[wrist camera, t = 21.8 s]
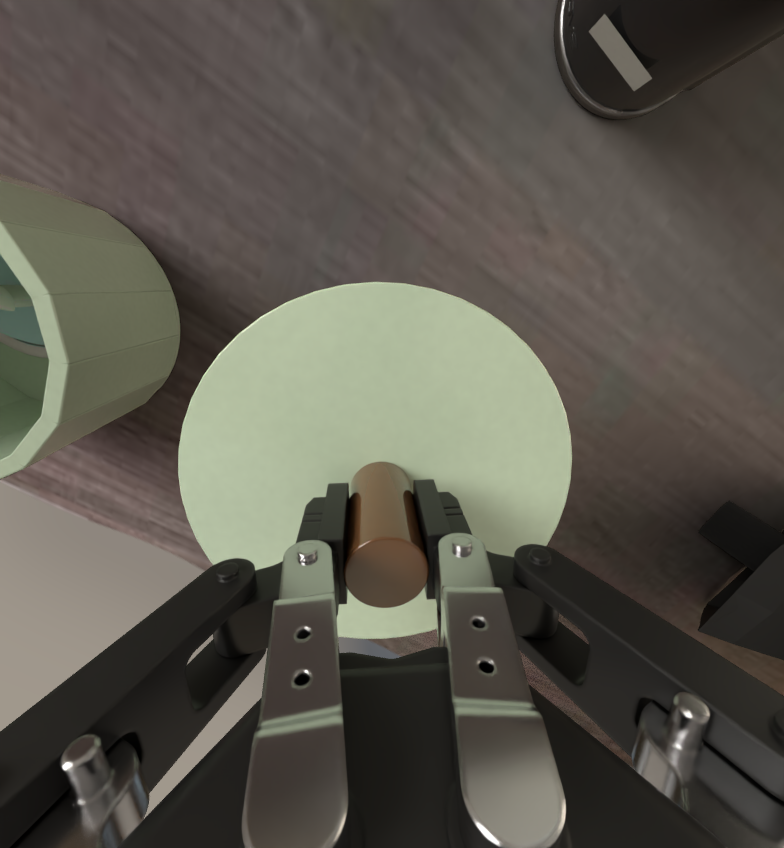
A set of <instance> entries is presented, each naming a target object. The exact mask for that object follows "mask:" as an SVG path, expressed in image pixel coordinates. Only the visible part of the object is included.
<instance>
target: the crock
mask: <svg viewBox="0 0 784 848" xmlns="http://www.w3.org/2000/svg"><path fill="white" fill-rule="evenodd" d="M0 254H1V256H2V257H3V259H4V260H5V261H6V263H7V264H8V266H9V267H10V269H11V270H12V271H13V273H14V274H15V276H16V277H17V278H18V280H19V281H20V283H21V284H22V286H23V287H24V288H25V290H26V291H27V293H28V294H29V296H30V297H31V298H32V302H33V305H34V309H35V312H36V316H37V319H38V323H39V326H40V330H41V334H42V337H43V341H44V344H45V348H46V351H47V355H48V358H41V357H36V356H32V355H28V354H25V353H22V352H20V351H17V350H15V349H13V348H11V347H9V346H7V345H6V344H4V343H2V342H0V479H2V478H5V477H7V476H9V475H11V474H14V473H16V472H18V471H20V470H23V469H25V468H27V467H28V466H30V465H32V464H34V463H36V462H38V461H40V460H41V459H43V458H45V457H47V456H49V455H51V454H53V453H54V452H56V451H58V450H60V449H62V448H64V447H65V446H67V445H69V444H71V443H73V442H75V441H77V440H78V439H80V438H82V437H84V436H86V435H88V434H90V433H91V432H93V431H95V430H97V429H99V428H101V427H103V426H104V425H106V424H108V423H110V422H112V421H114V420H115V419H117V418H119V417H121V416H123V415H125V414H127V413H128V412H130V411H132V410H134V409H136V408H138V407H140V406H141V405H143V404H145V403H146V402H147V401H148V400H149V399H150V398H151V397H152V396H153V395H154V394H155V393H156V392H157V391H158V390H159V389H160V388H161V387H162V385H163V384H164V383H165V381H166V380H167V378H168V377H169V375H170V373H171V371H172V369H173V367H174V364H175V361H176V358H177V355H178V350H179V344H180V319H179V312H178V307H177V303H176V299H175V296H174V293H173V291H172V288H171V285H170V283H169V281H168V279H167V277H166V275H165V273H164V271H163V269H162V268H161V266H160V265H159V263H158V262H157V260H156V259H155V257H154V256H153V254H152V253H151V252H150V251H149V250H148V248H147V247H146V246H145V245H144V244H143V242H142V241H141V240H140V239H139V238H138V237H136V236H135V235H134V234H133V233H132V232H131V231H130V230H129V229H128V228H127V227H125V226H124V225H123V224H121V223H120V222H119V221H118V220H116V219H115V218H113V217H112V216H110V215H109V214H108V213H107V212H105V211H103V210H101V209H99V208H96V207H94V206H92V205H89V204H87V203H85V202H82V201H79V200H76V199H74V198H72V197H69V196H67V195H64V194H62V193H59V192H57V191H54V190H51V189H47V188H44V187H41V186H38V185H35V184H31V183H28V182H25V181H22V180H18V179H15V178H12V177H9V176H6V175H2V174H0Z"/></svg>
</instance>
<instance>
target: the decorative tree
mask: <svg viewBox="0 0 784 848" xmlns="http://www.w3.org/2000/svg"><path fill="white" fill-rule="evenodd" d="M699 533H700V534H701V535H703V536H704V537H706V538H707V539H709V540H710V541H711V542H713V543H714V544H716V545H717V546H718V547H720V548H721V549H723V550H724V551H725V552H727V553H728V554H730V555H731V556H733V557H734V558H735V559H737V560H738V561H740V562H741V563H742V564H744V565H745V566H747V568H746V569H745V570H744V571H743V572H742V573H741V574H740V575H738V576H737V577H736V578H735V579H734V580H733V581H732V582H731V583H730V584H729V585H728V586H726V587H725V588H724V589H723V590H722V591H721V592H720V593H719V594H718V595H716V596H715V597H714V598H713V599H712V600H711V601H710V602H709V603H708V604H707V605H706V606H705V608H704V610H703V613H702V616H701V621H700V626H699V629H698V631H700V632H702V633H705V634H708V635H710V636H713V637H716V638H718V639H721V640H724V641H727V642H729V643H732V644H735V645H738V646H741V647H744V648H747V649H751V650H754V651H757V652H760V653H763V654H766V655H769V656H773V657H776V658H779V659H782V660H784V530H783V531H782V533H780V532H779V531H777V530H775V529H774V528H772V527H771V526H769V525H767V524H766V523H764V522H763V521H761V520H759V519H758V518H756V517H755V516H753V515H752V514H750V513H748V512H747V511H745V510H744V509H742V508H740V507H739V506H737V505H736V504H734V503H732V502H731V501H728V502H726V503H725V504H724V505H723V506H722V507H721V508H720V509H719V510H718V511H717V512H716V513H715V514H714V515H713V516H712V517H711V518H710V519H709V520H708V521H707V522H706V523H705V524H704V525H703V527H702V528H701V529H700V530H699Z"/></svg>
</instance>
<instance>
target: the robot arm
mask: <svg viewBox="0 0 784 848" xmlns="http://www.w3.org/2000/svg"><path fill="white" fill-rule="evenodd" d="M783 34H784V0H558V4H557V9H556V14H555V22H554V47H555V54H556V60H557V64H558V68H559V71H560V73H561V76H562V79H563V81H564V83H565V85H566V86H567V88H568V90H569V91H570V93H571V94H572V95H573V97H574V98H575V99H576V100H577V101H578V102H579V103H580V104H581V105H582V106H583V107H584V108H586V109H587V110H589V111H590V112H592V113H594V114H596V115H598V116H601V117H604V118H609V119H617V120H620V119H630V118H635V117H638V116H641V115H644V114H646V113H648V112H650V111H652V110H654V109H656V108H657V107H659V106H661V105H662V104H664V103H666V102H667V101H669V100H670V99H672V98H673V97H674V96H675V95H677V94H678V93H679V92H680V91H682V90H691V89H693V88H695V87H696V86H698V85H700V84H702V83H703V82H705V81H707V80H708V79H710V78H712V77H713V76H715V75H717V74H718V73H720V72H722V71H723V70H725V69H727V68H728V67H730V66H732V65H733V64H735V63H737V62H738V61H740V60H742V59H743V58H745V57H747V56H748V55H750V54H752V53H753V52H755V51H757V50H758V49H760V48H762V47H763V46H765V45H767V44H768V43H770V42H772V41H773V40H775V39H777V38H778V37H780V36H782V35H783ZM413 496H414V501H415V505H416V510H417V514H418V519H419V523H420V528H421V533H422V537H423V542H424V546H425V551H426V555H427V560H428V564H429V577H428V580H427V583H426V585H425V587H424V588H425V593H426V598H427V600H430V599H436V603H437V638H438V647H432V648H429V649H426V650H422V651H419V652H416V653H413V654H409V655H406V656H403V657H399V658H396V659H386V658H380V657H375V656H369V655H363V654H357V653H339V643H338V629H337V615H338V609H339V604H347V595H348V588H347V586H346V584H345V581H344V576H343V572H344V563H345V550H346V537H347V524H348V511H349V484H348V483H329V484H328V487H327V493H326V497H314V498H313V499H312V500H311V501H310V502H309V503H308V504H307V505H306V507H305V511H304V515H303V518H302V522H301V525H300V529H299V533H298V537H297V540H296V544H294V545H292V546H291V547H289V548H288V549H287V550H286V552H285V553H284V556H283V561H282V562H280V563H278V564H275V565H273V566H270V567H266V568H262V569H258V570H255V566H254V564H253V563H252V562H251V561H249V560H247V559H242V558H233V559H228V560H224V561H221V562H219V563H217V564H215V565H213V566H212V567H210V568H209V569H208V570H206V571H205V572H204V573H203V574H201V575H200V576H199V577H197V578H196V579H195V580H194V581H192V582H191V583H190V584H188V585H187V586H186V587H185V588H183V589H182V590H181V591H179V592H178V593H177V594H176V595H174V596H173V597H172V598H171V599H169V600H168V601H167V602H166V603H164V604H163V605H162V606H160V607H159V608H158V609H156V610H155V611H154V612H153V613H151V614H150V615H149V616H148V617H146V618H145V619H144V620H143V621H141V622H140V623H139V624H137V625H136V626H135V627H134V628H132V629H131V630H130V631H128V632H127V633H126V634H125V635H123V636H122V637H121V638H120V639H118V640H117V641H116V642H114V643H113V644H112V645H110V646H109V647H108V648H107V649H105V650H104V651H103V652H102V653H100V654H99V655H98V656H97V657H95V658H94V659H93V660H91V661H90V662H89V663H87V664H86V665H85V666H84V667H82V668H81V669H80V670H79V671H77V672H76V673H75V674H73V675H72V676H71V677H70V678H68V679H67V680H66V681H64V682H63V683H62V684H61V685H59V686H58V687H57V688H56V689H54V690H53V691H52V692H50V693H49V694H48V695H47V696H45V697H44V698H43V699H41V700H40V701H39V702H38V703H36V704H35V705H34V706H32V707H31V708H30V709H29V710H27V711H26V712H25V713H23V714H22V715H21V716H20V717H18V718H17V719H16V720H15V721H13V722H12V723H11V724H9V725H8V726H7V727H6V728H4V729H3V730H2V731H0V848H784V696H783V695H781V694H780V693H778V692H777V691H775V690H773V689H772V688H770V687H769V686H767V685H766V684H764V683H762V682H761V681H759V680H758V679H756V678H755V677H753V676H752V675H750V674H748V673H747V672H745V671H744V670H742V669H741V668H739V667H737V666H736V665H734V664H733V663H731V662H730V661H728V660H726V659H725V658H723V657H722V656H720V655H719V654H717V653H715V652H714V651H712V650H711V649H709V648H708V647H706V646H704V645H703V644H701V643H700V642H698V641H697V640H695V639H694V638H692V637H690V636H689V635H687V634H686V633H684V632H683V631H681V630H679V629H678V628H676V627H675V626H673V625H672V624H670V623H668V622H667V621H665V620H664V619H662V618H661V617H659V616H657V615H656V614H654V613H653V612H651V611H650V610H648V609H646V608H645V607H643V606H642V605H640V604H639V603H637V602H636V601H634V600H632V599H631V598H629V597H628V596H626V595H625V594H623V593H621V592H620V591H618V590H617V589H615V588H614V587H612V586H610V585H609V584H607V583H606V582H604V581H603V580H601V579H599V578H598V577H596V576H595V575H593V574H592V573H590V572H588V571H587V570H585V569H584V568H582V567H581V566H579V565H578V564H576V563H574V562H573V561H571V560H570V559H568V558H567V557H565V556H563V555H562V554H560V553H559V552H557V551H555V550H554V549H552V548H549V547H547V546H543V545H538V544H527V545H523V546H520V547H519V548H517V549H516V551H515V553H514V557H511V556H505V555H499V554H495V553H492V552H489V551H487V550H486V548H485V545H484V543H483V542H482V541H481V540H480V539H479V538H477V537H475V536H473V535H472V533H471V530H470V528H469V526H468V523H467V521H466V518H465V516H464V515H463V511H462V509H461V506H460V504H459V502H458V499H457V498H456V497H455V496H453V495H452V494H451V493H450V492H438V491H437V488H436V485H435V482H434V479H425V480H414V481H413ZM559 613H560V614H561V615H563V616H564V617H565V618H566V619H568V620H569V621H570V622H571V623H573V624H574V625H575V626H577V627H578V628H579V629H580V630H581V631H582V632H583V633H584V635H585V636H586V638H587V640H588V642H589V645H588V644H587V643H585V642H584V641H583V640H582V639H580V638H579V637H578V636H577V635H575V634H574V633H573V632H572V631H570V630H569V629H568V628H567V627H565V626H564V625H563V624H562V623H561V622H559V621H558V618H559ZM212 634H213V638H214V639H213V640H212V641H211V642H210V643H209V644H208V645H207V646H206V647H205V648H204V649H203V650H202V651H201V652H200V653H199V654H198V655H197V656H196V657H195V658H194V659H193V660H192V661H191V662H190V663H189V664H188V665H187V662H188V660H189V658H190V657H191V655H192V654H193V652H195V650H196V649H198V648H199V646H201V645H202V644H203V643H204V642H205V641H206V640H207V639H208V638H209V637H210V636H211V635H212ZM266 648H268V651H267V659H266V667H265V674H264V683H263V691H262V698H261V699H260V700H259V701H258V702H257V703H256V704H255V705H254V706H253V707H252V708H251V709H250V710H249V711H248V712H247V713H246V714H245V715H244V716H243V717H242V718H241V719H240V720H239V722H237V723H236V725H235V726H234V727H233V728H232V729H231V730H230V731H229V732H228V733H227V734H226V735H225V736H224V737H223V738H222V739H221V740H220V741H219V742H218V743H217V744H216V745H215V746H214V747H213V748H212V749H211V750H210V751H209V752H208V753H207V755H206V756H205V757H204V758H203V759H202V760H201V761H200V762H199V763H198V764H197V765H196V766H195V767H194V768H193V769H192V770H191V771H190V772H189V773H188V774H187V775H186V776H185V777H184V778H183V779H182V780H181V781H180V783H179V784H178V785H177V786H176V787H175V788H174V789H173V790H172V791H171V792H170V793H169V794H168V795H167V796H166V797H165V798H164V799H163V800H162V801H161V802H160V803H159V804H158V805H157V806H156V807H155V808H154V809H153V810H152V812H151V813H150V814H149V815H148V816H147V817H146V818H145V819H144V817H145V814H146V812H147V808H148V804H149V793H150V792H151V791H152V790H153V788H154V787H155V786H156V785H157V783H158V782H159V781H160V780H161V779H162V778H163V776H164V775H165V774H166V773H167V771H168V770H169V769H170V768H171V767H172V766H173V764H174V763H175V762H176V761H177V759H178V758H179V757H180V756H181V755H182V753H183V752H184V751H185V750H186V749H187V748H188V746H189V745H190V744H191V743H192V742H193V740H194V739H195V738H196V737H197V736H198V734H199V733H200V732H201V731H202V730H203V728H204V727H205V726H206V725H207V724H208V722H209V721H210V720H211V719H212V718H213V716H214V715H215V714H216V713H217V712H218V710H219V709H220V708H221V707H222V706H223V704H224V703H225V702H226V701H227V700H228V698H229V697H230V696H231V695H232V693H233V692H234V691H235V690H236V689H237V688H238V687H239V685H240V684H241V683H242V682H243V680H244V679H245V678H246V677H247V676H248V675H249V673H250V672H251V671H252V670H253V668H254V667H255V666H256V665H257V664H258V663H259V661H260V660H261V659H262V657H263V656H264V654H265V652H266ZM519 650H520V651H521V652H522V653H523V654H524V655H525V656H526V657H527V658H528V659H529V660H531V661H532V662H533V663H534V664H535V665H536V666H537V667H538V668H539V669H540V670H541V671H542V672H543V673H544V674H545V675H546V676H547V677H548V678H549V679H550V680H551V681H552V682H553V683H554V684H555V685H556V686H558V687H559V688H560V689H561V690H562V691H563V692H564V693H565V694H566V695H567V696H568V697H569V698H570V699H571V700H572V701H573V702H574V703H575V704H576V705H577V706H578V707H579V708H580V709H581V710H582V711H583V712H584V713H586V714H587V715H588V716H589V717H590V718H591V719H592V720H593V721H594V722H595V723H596V724H597V725H598V726H599V727H600V728H601V729H602V730H603V731H604V732H605V733H606V734H607V735H608V736H609V737H610V738H611V739H613V740H614V741H615V742H616V743H617V744H618V745H619V746H620V747H621V748H622V749H623V750H624V751H625V752H626V753H627V754H628V755H629V756H630V757H631V758H632V762H633V766H634V768H635V770H634V769H633V768H631V767H630V766H629V765H628V764H626V763H625V762H624V761H623V760H621V759H620V758H619V757H618V756H617V755H615V754H614V753H613V752H612V751H610V750H609V749H608V748H607V747H605V746H604V745H603V744H602V743H601V742H599V741H598V740H597V739H596V738H594V737H593V736H592V735H591V734H589V733H588V732H587V731H586V730H584V729H583V728H582V727H581V726H580V725H578V724H577V723H576V722H575V721H573V720H572V719H571V718H570V717H568V716H567V715H566V714H565V713H564V712H562V711H561V710H560V709H559V708H557V707H556V706H555V705H554V704H552V703H551V702H550V701H549V700H548V699H546V698H545V697H544V696H543V695H541V694H540V693H539V692H538V691H536V690H535V689H534V688H533V687H532V686H530V685H529V684H528V681H527V678H526V674H525V670H524V667H523V663H522V659H521V655H520V652H519ZM186 665H187V666H186ZM143 819H144V820H143Z"/></svg>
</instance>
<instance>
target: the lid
mask: <svg viewBox="0 0 784 848" xmlns="http://www.w3.org/2000/svg"><path fill="white" fill-rule="evenodd" d="M571 468H572V448H571V434H570V430H569V425H568V420H567V416H566V411H565V409H564V406H563V403H562V401H561V398H560V395H559V393H558V390H557V388H556V386H555V384H554V382H553V381H552V379H551V377H550V375H549V373H548V372H547V370H546V368H545V366H544V365H543V364H542V362H541V361H540V360H539V359H538V357H537V356H536V355H535V353H534V352H533V351H532V350H531V348H530V347H529V346H528V345H527V344H526V343H525V342H524V341H523V340H522V339H521V338H520V337H519V336H518V335H517V334H516V333H515V332H514V331H513V330H511V329H510V328H509V327H508V326H507V325H505V324H504V323H502V322H501V321H500V320H498V319H497V318H495V317H494V316H493V315H491V314H490V313H488V312H487V311H485V310H483V309H481V308H479V307H477V306H475V305H473V304H471V303H469V302H467V301H465V300H464V299H462V298H459V297H456V296H453V295H450V294H447V293H444V292H441V291H438V290H435V289H431V288H426V287H421V286H416V285H411V284H406V283H388V282H367V283H355V284H344V285H340V286H336V287H331V288H327V289H322V290H318V291H314V292H312V293H309V294H306V295H304V296H301V297H299V298H296V299H293V300H291V301H288V302H286V303H284V304H282V305H281V306H279V307H277V308H275V309H273V310H272V311H270V312H268V313H266V314H264V315H263V316H261V317H260V318H258V319H257V320H256V321H254V322H253V323H252V324H251V325H249V326H248V327H247V328H245V329H244V330H243V331H241V332H240V333H239V334H238V335H237V336H236V337H235V338H234V339H233V340H232V341H231V342H230V343H229V344H228V345H227V346H226V347H225V348H224V349H223V350H222V351H221V352H220V353H219V354H218V356H217V357H216V359H215V360H214V361H213V363H212V364H211V365H210V367H209V368H208V370H207V371H206V372H205V374H204V375H203V377H202V379H201V381H200V383H199V385H198V387H197V389H196V390H195V392H194V394H193V396H192V398H191V401H190V404H189V407H188V410H187V413H186V416H185V419H184V422H183V426H182V431H181V437H180V443H179V456H178V476H179V483H180V490H181V497H182V501H183V504H184V508H185V511H186V515H187V518H188V521H189V523H190V525H191V528H192V530H193V532H194V534H195V537H196V539H197V541H198V543H199V544H200V546H201V547H202V549H203V551H204V552H205V554H206V555H207V557H208V559H209V560H210V561H211V563H212V564H213V565H215V564H217V563H219V562H221V561H224V560H228V559H233V558H242V559H247V560H249V561H251V562H252V563H253V564H254V566H255V570H258V569H262V568H266V567H270V566H273V565H275V564H278V563H280V562H282V561H283V556H284V553H285V552H286V550H287V549H288V548H289V547H291V546H292V545H294V544H296V540H297V537H298V533H299V529H300V525H301V522H302V518H303V515H304V511H305V507H306V505H307V504H308V503H309V502H310V501H311V500H312V499H313V498H314V497H326V493H327V487H328V484H329V483H348V484H349V511H348V524H347V537H346V550H345V563H344V572H343V576H344V581H345V584H346V586H347V588H348V595H347V604H339V609H338V615H337V629H338V636H340V637H348V638H359V639H386V638H395V637H404V636H410V635H414V634H419V633H424V632H428V631H431V630H434V629H437V603H436V599H430V600H427V598H426V593H425V588H424V587H425V585H426V583H427V580H428V577H429V564H428V560H427V555H426V551H425V546H424V542H423V537H422V533H421V528H420V523H419V519H418V514H417V510H416V505H415V501H414V496H413V481H414V480H425V479H434V482H435V485H436V488H437V491H438V492H450V493H451V494H452V495H453V496H455V497H456V498H457V499H458V502H459V504H460V506H461V509H462V511H463V515H464V516H465V518H466V521H467V523H468V526H469V528H470V530H471V533H472V535H473V536H475V537H477V538H479V539H480V540H481V541H482V542H483V543H484V545H485V548H486V550H487V551H489V552H492V553H495V554H499V555H505V556H511V557H514V553H515V551H516V549H517V548H519V547H520V546H523V545H527V544H538V545H543V546H547V544H548V543H549V541H550V539H551V537H552V535H553V533H554V531H555V529H556V527H557V525H558V523H559V520H560V518H561V515H562V512H563V509H564V506H565V504H566V500H567V495H568V490H569V486H570V481H571Z"/></svg>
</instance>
